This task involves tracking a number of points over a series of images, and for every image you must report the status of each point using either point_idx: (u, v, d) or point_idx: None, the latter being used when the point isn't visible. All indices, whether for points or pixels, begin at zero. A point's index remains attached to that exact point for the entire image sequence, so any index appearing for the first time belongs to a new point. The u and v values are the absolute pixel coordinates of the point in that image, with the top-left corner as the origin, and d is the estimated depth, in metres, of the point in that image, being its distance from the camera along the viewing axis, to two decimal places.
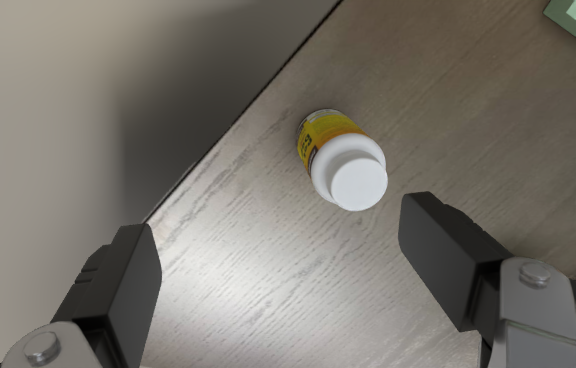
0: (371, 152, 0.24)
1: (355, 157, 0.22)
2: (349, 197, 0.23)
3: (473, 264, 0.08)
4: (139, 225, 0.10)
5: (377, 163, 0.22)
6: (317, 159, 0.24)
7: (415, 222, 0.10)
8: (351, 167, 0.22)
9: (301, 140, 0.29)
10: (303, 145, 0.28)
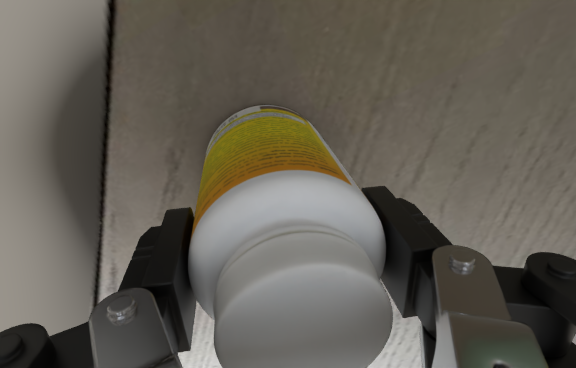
0: (310, 212, 0.08)
1: (245, 278, 0.07)
2: None
3: (411, 252, 0.08)
4: (184, 208, 0.11)
5: (318, 269, 0.07)
6: (191, 284, 0.09)
7: None
8: (247, 317, 0.07)
9: None
10: None
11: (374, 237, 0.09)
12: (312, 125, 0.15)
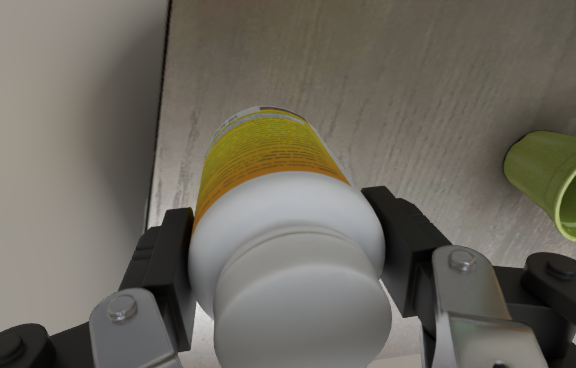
0: (310, 213, 0.08)
1: (244, 279, 0.07)
2: None
3: (411, 252, 0.08)
4: (184, 208, 0.11)
5: (317, 270, 0.07)
6: (191, 285, 0.09)
7: None
8: (247, 318, 0.07)
9: None
10: None
11: (373, 238, 0.09)
12: (312, 126, 0.15)
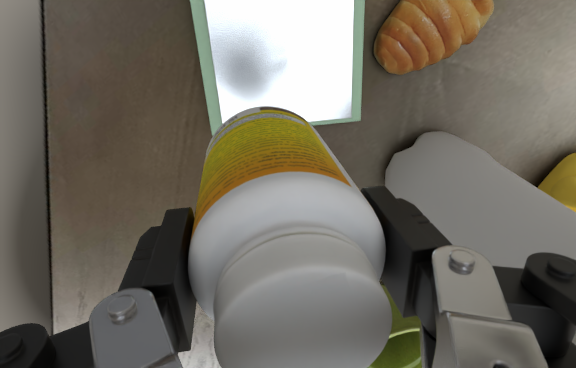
0: (310, 213, 0.08)
1: (245, 280, 0.07)
2: None
3: (411, 252, 0.08)
4: (184, 208, 0.11)
5: (318, 271, 0.07)
6: (191, 286, 0.09)
7: None
8: (247, 318, 0.07)
9: None
10: None
11: (374, 238, 0.09)
12: (312, 126, 0.15)
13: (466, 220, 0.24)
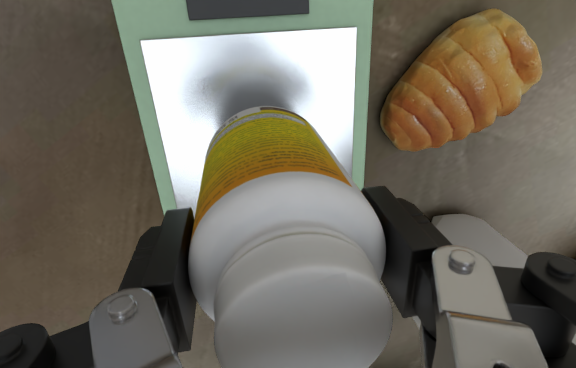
0: (310, 213, 0.08)
1: (245, 280, 0.07)
2: None
3: (411, 252, 0.08)
4: (184, 208, 0.11)
5: (318, 271, 0.07)
6: (191, 286, 0.09)
7: None
8: (247, 318, 0.07)
9: None
10: None
11: (374, 238, 0.09)
12: (312, 126, 0.15)
13: None
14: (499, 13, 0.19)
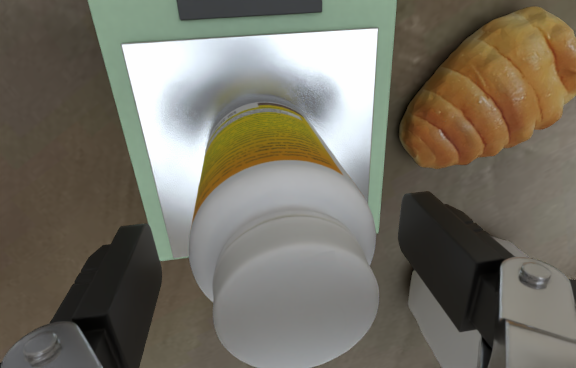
0: (304, 198, 0.09)
1: (242, 257, 0.07)
2: (291, 346, 0.08)
3: (473, 264, 0.08)
4: (139, 225, 0.10)
5: (309, 248, 0.07)
6: (192, 268, 0.10)
7: (415, 222, 0.10)
8: (243, 293, 0.07)
9: None
10: None
11: (364, 223, 0.10)
12: (308, 121, 0.16)
13: None
14: (541, 12, 0.17)
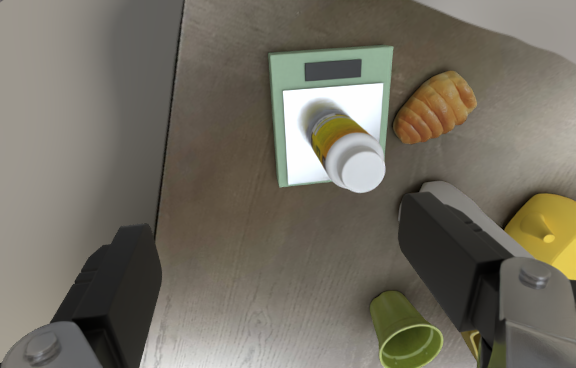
0: (363, 143, 0.31)
1: (350, 155, 0.29)
2: (360, 183, 0.30)
3: (473, 264, 0.08)
4: (139, 225, 0.10)
5: (368, 152, 0.29)
6: (327, 166, 0.32)
7: (415, 222, 0.10)
8: (351, 164, 0.29)
9: (315, 151, 0.36)
10: (317, 155, 0.35)
11: (380, 152, 0.31)
12: None
13: None
14: (454, 73, 0.39)
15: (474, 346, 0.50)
